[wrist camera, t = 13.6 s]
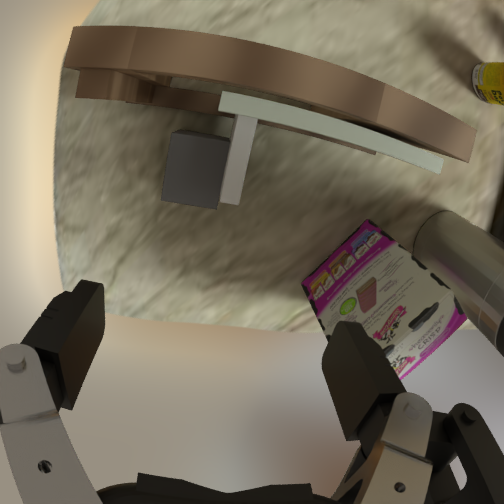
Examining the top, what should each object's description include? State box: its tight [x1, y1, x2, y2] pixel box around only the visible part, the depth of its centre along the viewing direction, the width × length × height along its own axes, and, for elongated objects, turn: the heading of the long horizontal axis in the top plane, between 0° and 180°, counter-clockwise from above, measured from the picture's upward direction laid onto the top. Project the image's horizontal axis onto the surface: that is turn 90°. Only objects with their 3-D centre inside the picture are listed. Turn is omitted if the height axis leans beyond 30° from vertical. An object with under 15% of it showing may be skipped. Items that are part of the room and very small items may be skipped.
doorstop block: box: [161, 130, 231, 210], centre depth 29 cm, size 5×6×5 cm
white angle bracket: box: [218, 91, 444, 205], centre depth 25 cm, size 16×8×12 cm, turn 77°
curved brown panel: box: [64, 26, 477, 163], centre depth 22 cm, size 26×4×15 cm, turn 77°
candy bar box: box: [301, 219, 467, 380], centre depth 30 cm, size 11×5×16 cm, turn 137°
